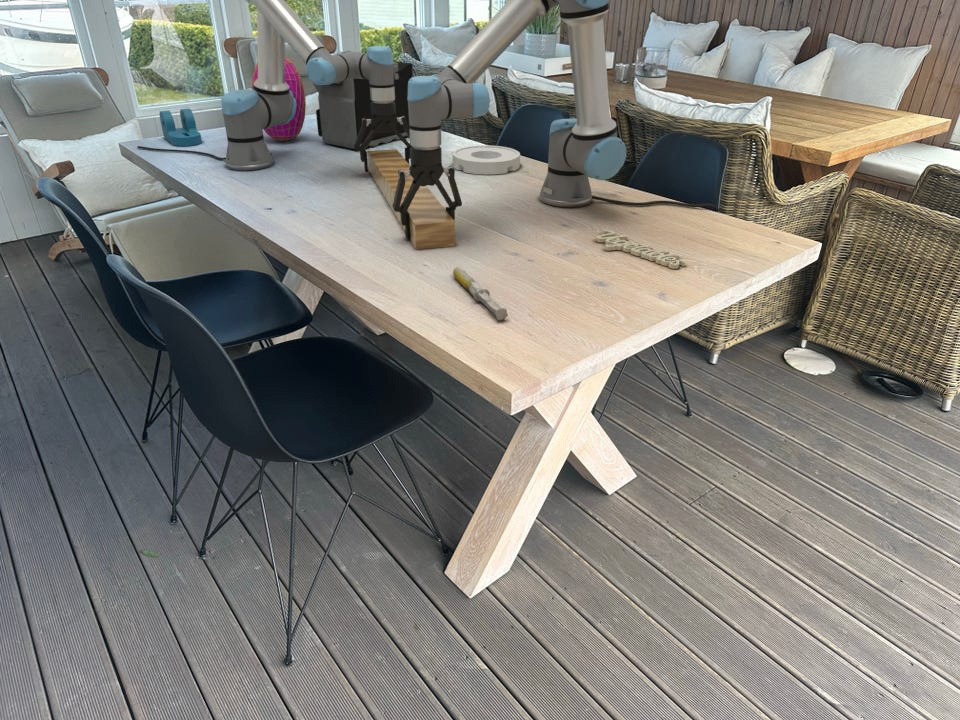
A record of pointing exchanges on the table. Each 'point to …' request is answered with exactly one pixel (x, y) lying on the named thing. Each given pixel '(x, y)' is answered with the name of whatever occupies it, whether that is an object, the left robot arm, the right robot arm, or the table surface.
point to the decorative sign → (639, 249)
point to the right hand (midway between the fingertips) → (428, 235)
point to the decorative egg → (296, 87)
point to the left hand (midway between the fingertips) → (387, 170)
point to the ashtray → (486, 159)
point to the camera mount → (180, 135)
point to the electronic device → (358, 108)
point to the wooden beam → (425, 210)
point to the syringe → (479, 293)
